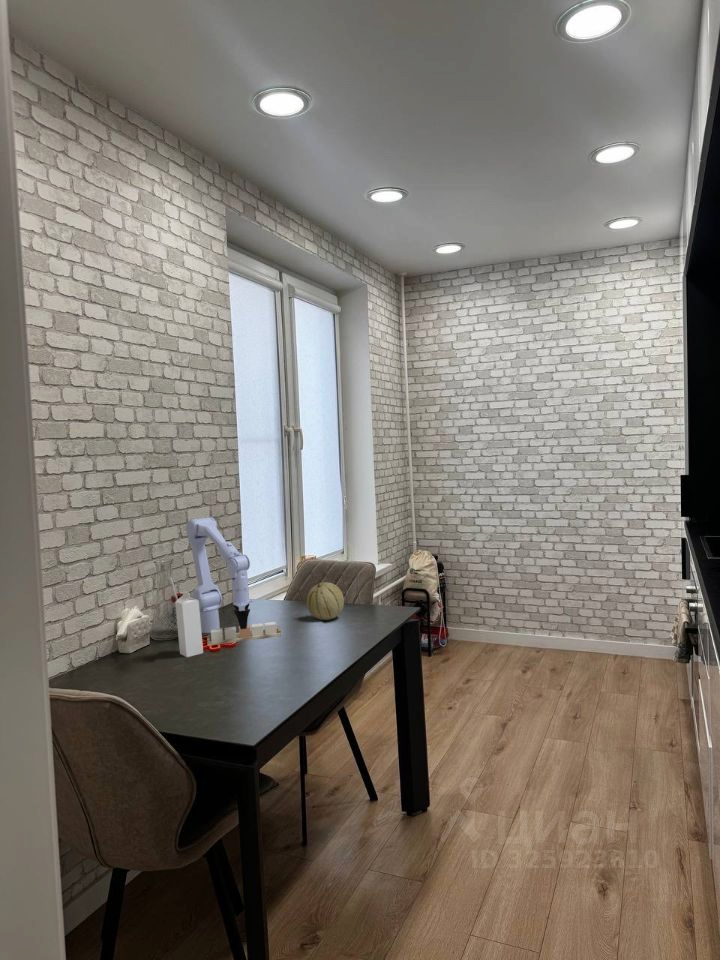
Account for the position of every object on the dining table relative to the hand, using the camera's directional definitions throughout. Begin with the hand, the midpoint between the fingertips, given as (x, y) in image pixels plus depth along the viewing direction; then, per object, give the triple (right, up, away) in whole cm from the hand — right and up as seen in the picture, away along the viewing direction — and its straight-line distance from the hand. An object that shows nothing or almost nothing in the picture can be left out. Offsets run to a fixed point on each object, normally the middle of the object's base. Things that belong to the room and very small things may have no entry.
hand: (243, 626), depth 244 cm
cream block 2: (-4, -5, -1) cm, 6 cm away
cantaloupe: (+29, -2, +21) cm, 36 cm away
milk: (-15, -7, -14) cm, 22 cm away
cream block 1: (-9, -5, -2) cm, 10 cm away
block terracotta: (+1, -4, 0) cm, 4 cm away
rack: (0, -5, 0) cm, 5 cm away
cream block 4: (+10, -3, +2) cm, 11 cm away
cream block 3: (+5, -4, +1) cm, 6 cm away
